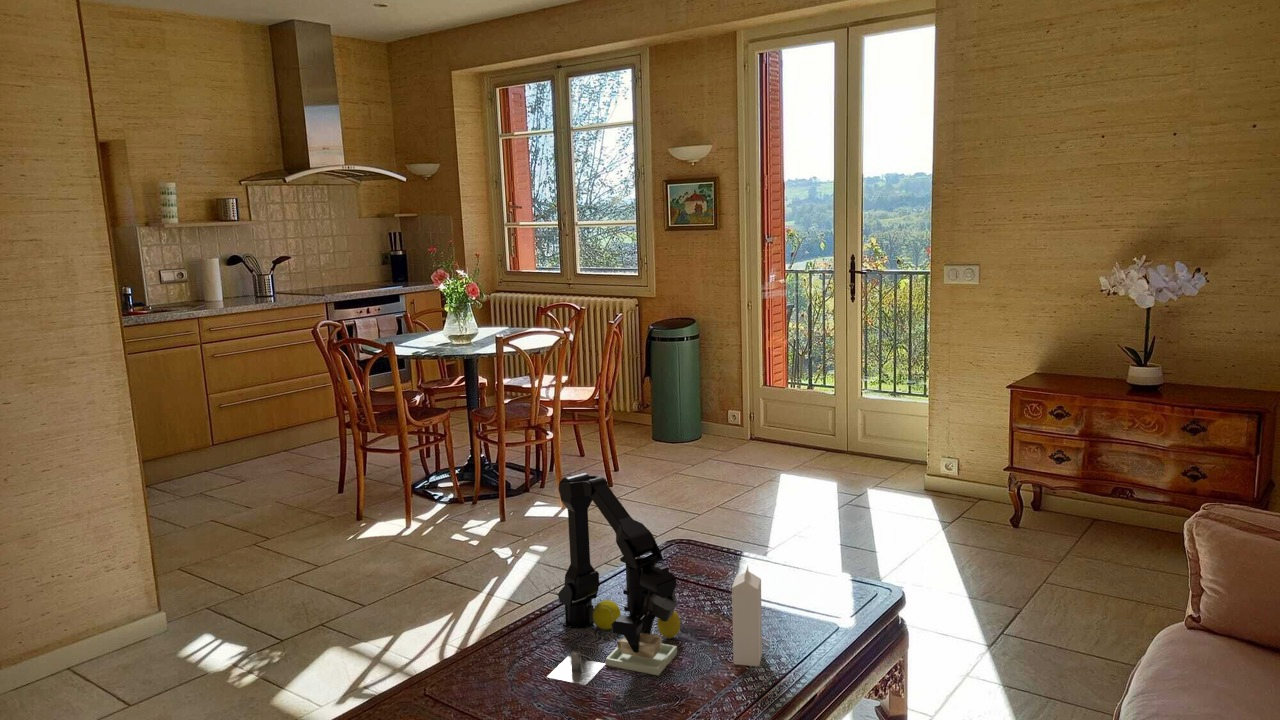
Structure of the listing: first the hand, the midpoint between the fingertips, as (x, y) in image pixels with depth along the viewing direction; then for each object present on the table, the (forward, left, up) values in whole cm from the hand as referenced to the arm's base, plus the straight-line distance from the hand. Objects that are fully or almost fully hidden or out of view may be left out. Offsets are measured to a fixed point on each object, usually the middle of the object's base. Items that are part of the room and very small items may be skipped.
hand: (641, 646), depth 211 cm
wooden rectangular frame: (0, 0, -1) cm, 1 cm away
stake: (-12, -10, -4) cm, 16 cm away
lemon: (+2, +12, -4) cm, 13 cm away
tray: (0, 0, -4) cm, 4 cm away
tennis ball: (-15, +12, -4) cm, 20 cm away
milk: (+23, +9, -4) cm, 25 cm away
